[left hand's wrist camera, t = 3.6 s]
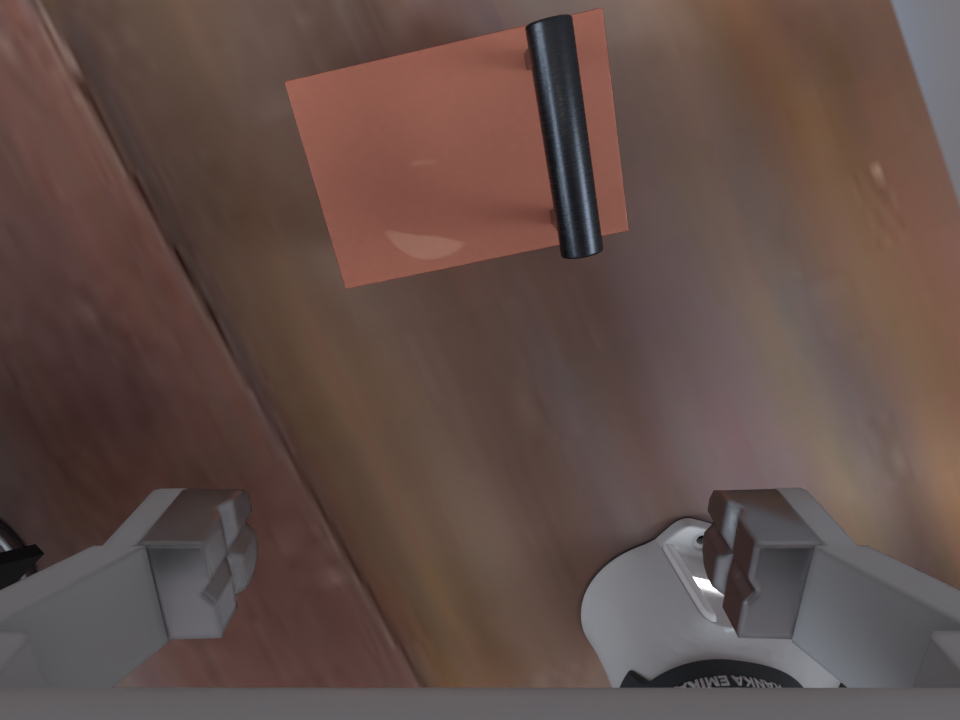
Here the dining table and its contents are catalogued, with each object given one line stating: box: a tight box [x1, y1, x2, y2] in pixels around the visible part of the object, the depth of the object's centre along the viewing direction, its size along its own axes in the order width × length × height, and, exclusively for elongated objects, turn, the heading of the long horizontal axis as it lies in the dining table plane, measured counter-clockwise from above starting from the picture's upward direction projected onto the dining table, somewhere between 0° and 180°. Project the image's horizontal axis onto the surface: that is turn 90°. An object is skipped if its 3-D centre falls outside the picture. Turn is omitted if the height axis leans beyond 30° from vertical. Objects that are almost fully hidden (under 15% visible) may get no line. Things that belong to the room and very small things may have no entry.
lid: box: [285, 8, 629, 289], centre depth 24 cm, size 14×10×9 cm
